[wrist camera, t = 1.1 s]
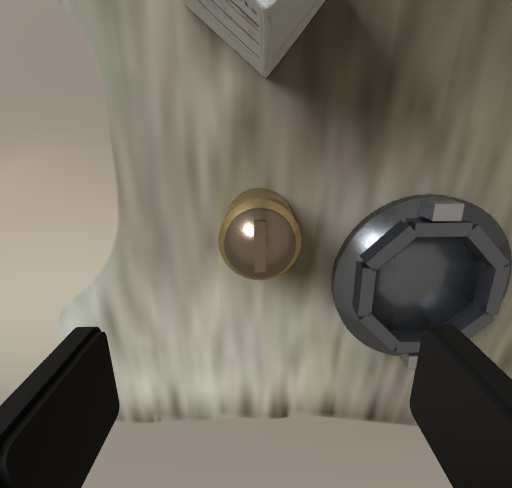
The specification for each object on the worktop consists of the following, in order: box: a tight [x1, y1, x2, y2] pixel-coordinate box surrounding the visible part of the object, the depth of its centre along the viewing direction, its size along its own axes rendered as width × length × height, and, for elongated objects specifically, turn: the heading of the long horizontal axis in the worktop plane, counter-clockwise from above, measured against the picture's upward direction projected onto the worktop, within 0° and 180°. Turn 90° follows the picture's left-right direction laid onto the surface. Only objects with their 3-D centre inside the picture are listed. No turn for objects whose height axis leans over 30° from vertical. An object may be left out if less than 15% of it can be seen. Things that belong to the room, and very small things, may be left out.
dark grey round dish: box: [332, 194, 512, 369], centre depth 25 cm, size 14×14×3 cm
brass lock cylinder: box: [218, 188, 301, 280], centre depth 22 cm, size 5×5×6 cm
